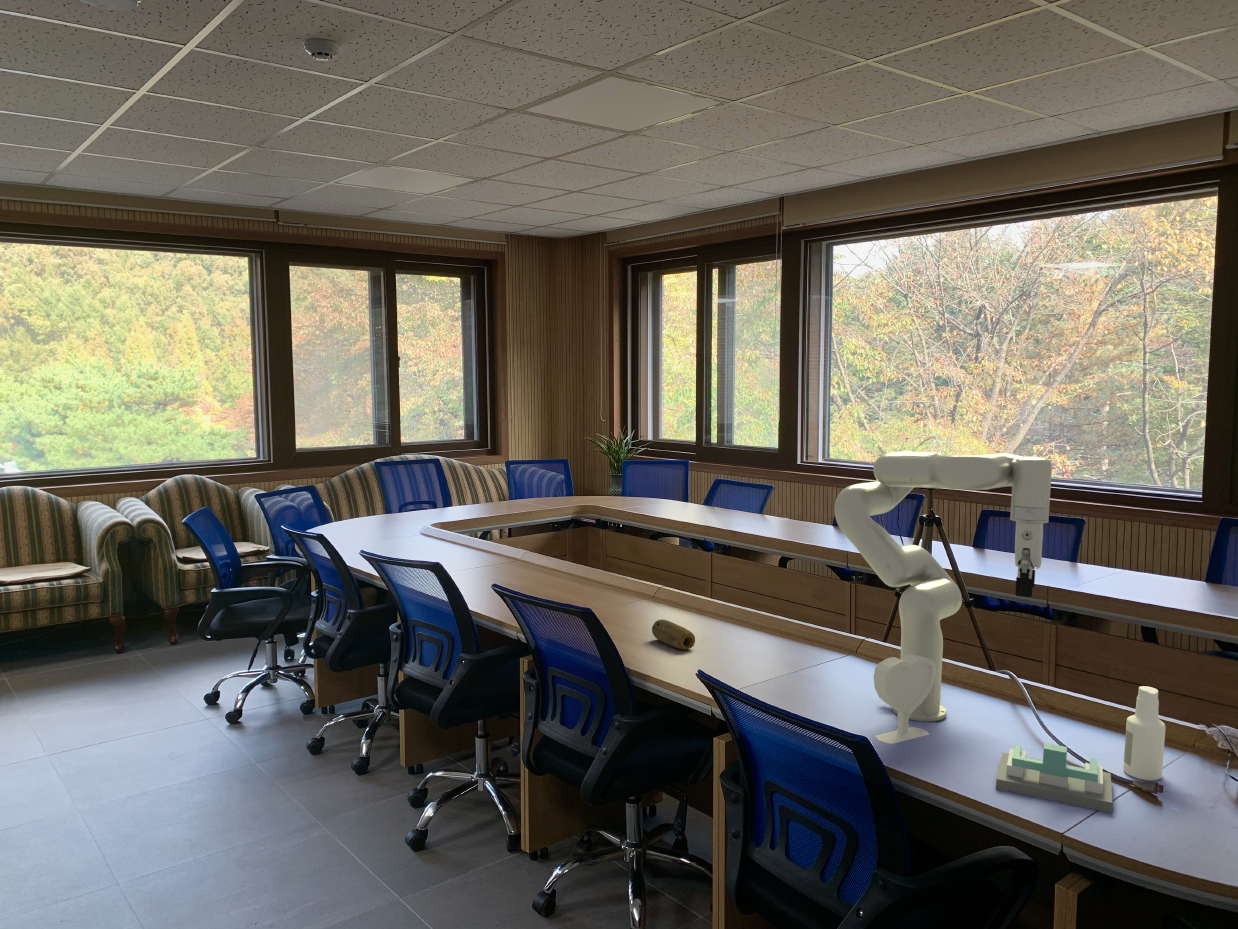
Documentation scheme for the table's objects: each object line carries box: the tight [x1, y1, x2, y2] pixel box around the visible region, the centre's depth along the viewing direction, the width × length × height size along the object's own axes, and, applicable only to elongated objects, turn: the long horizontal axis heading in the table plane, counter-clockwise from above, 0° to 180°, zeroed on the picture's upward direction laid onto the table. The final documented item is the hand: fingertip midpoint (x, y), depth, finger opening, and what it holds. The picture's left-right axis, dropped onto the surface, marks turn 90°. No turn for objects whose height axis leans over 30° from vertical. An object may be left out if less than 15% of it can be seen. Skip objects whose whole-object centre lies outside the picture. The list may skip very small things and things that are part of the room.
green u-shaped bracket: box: [1012, 742, 1098, 782], centre depth 174 cm, size 15×10×5 cm, turn 62°
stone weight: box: [651, 619, 696, 650], centre depth 263 cm, size 15×7×7 cm, turn 39°
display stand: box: [995, 747, 1113, 814], centre depth 175 cm, size 20×14×4 cm
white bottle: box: [1122, 685, 1167, 782], centre depth 180 cm, size 7×7×18 cm
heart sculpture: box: [873, 654, 936, 745], centre depth 198 cm, size 16×5×18 cm, turn 118°
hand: (1024, 591), depth 192 cm, fingers open, 9 cm apart
